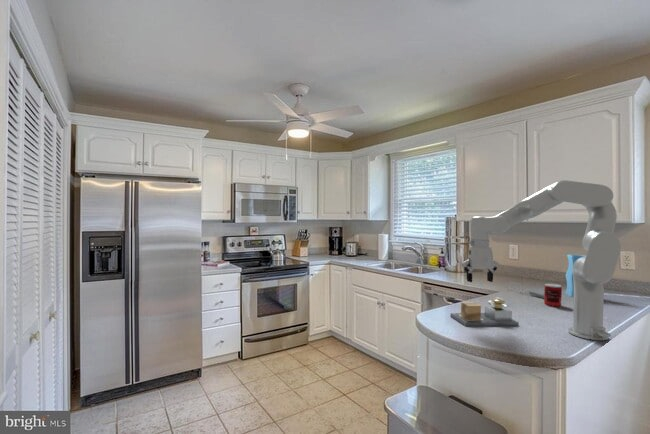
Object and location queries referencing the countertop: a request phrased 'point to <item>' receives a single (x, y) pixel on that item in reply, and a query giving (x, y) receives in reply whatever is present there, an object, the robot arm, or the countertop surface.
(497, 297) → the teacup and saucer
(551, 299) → the canned food
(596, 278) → the robot arm
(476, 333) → the countertop surface
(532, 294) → the kitchen whisk
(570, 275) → the vase
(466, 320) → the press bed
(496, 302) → the gold lobed piece
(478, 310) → the oak block
